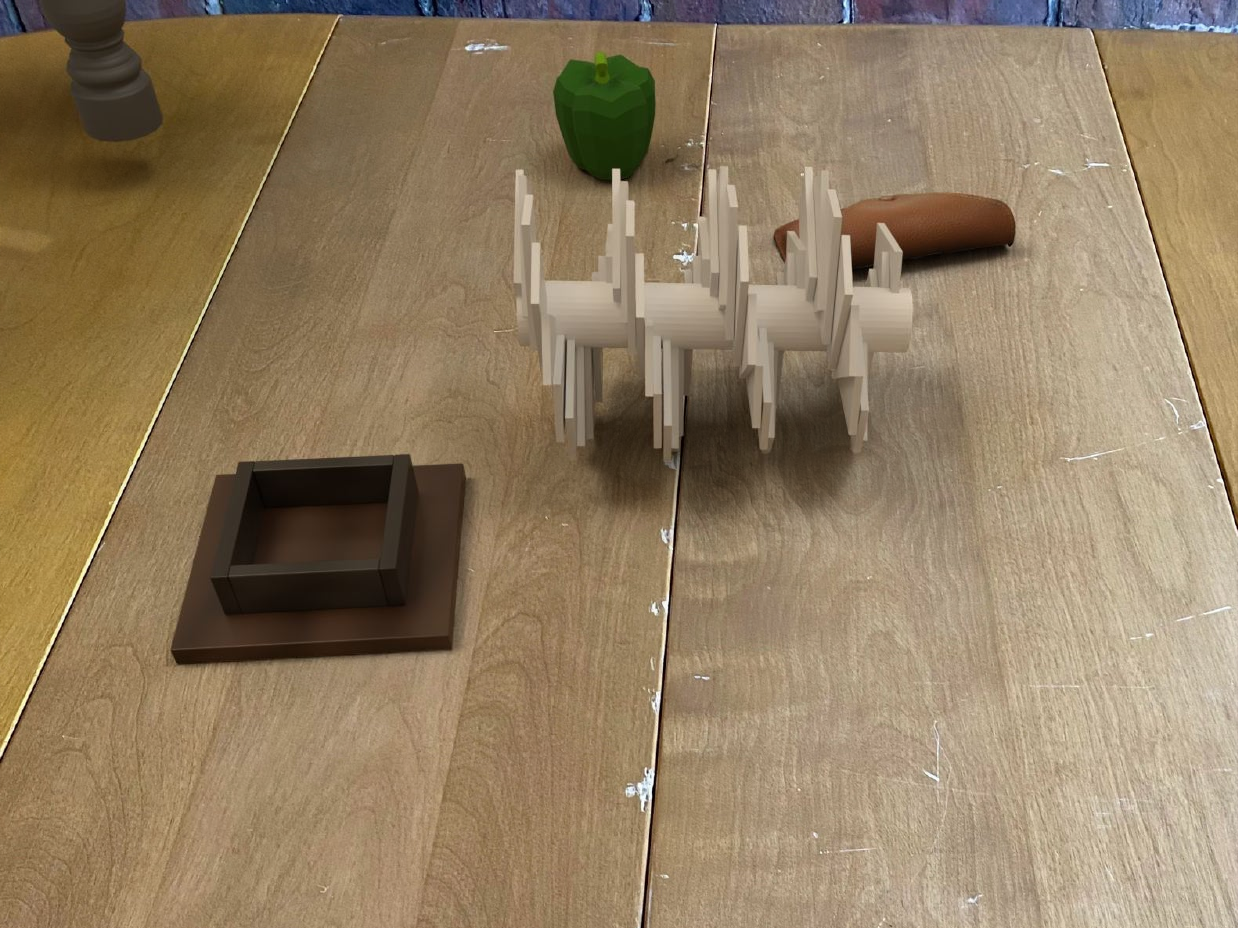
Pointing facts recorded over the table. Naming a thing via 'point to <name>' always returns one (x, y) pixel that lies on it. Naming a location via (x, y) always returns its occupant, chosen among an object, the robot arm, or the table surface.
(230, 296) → the table surface
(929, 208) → the sunglasses case
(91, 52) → the grey baluster post
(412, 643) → the socket pad
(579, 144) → the bell pepper
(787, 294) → the spiral staircase
